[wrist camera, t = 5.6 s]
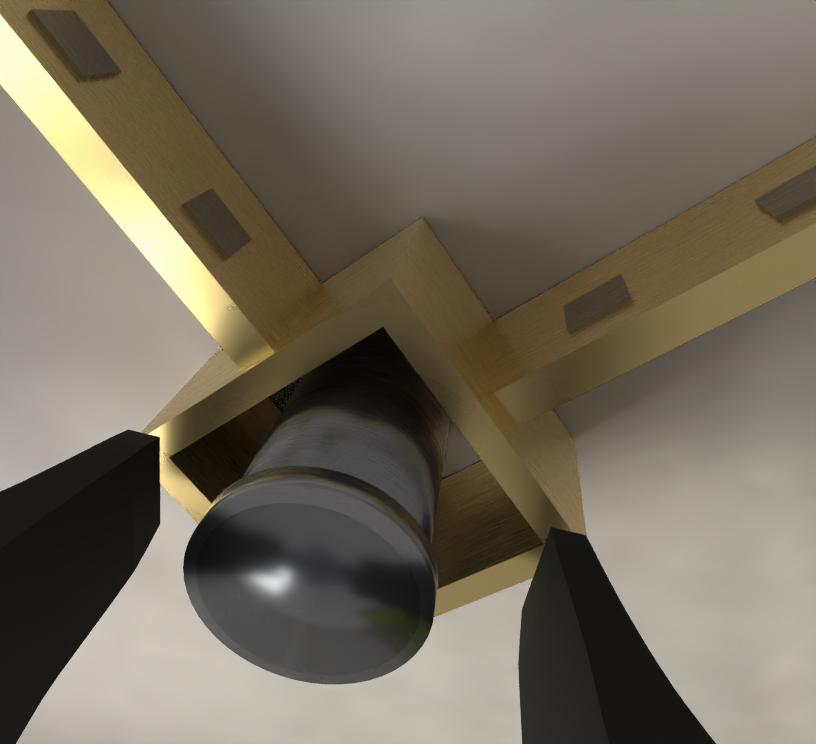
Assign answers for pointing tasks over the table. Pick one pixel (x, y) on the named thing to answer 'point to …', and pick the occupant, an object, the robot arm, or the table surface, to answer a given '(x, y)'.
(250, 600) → the pin
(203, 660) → the table surface
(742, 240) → the gold square socket frame
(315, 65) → the table surface
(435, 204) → the table surface
